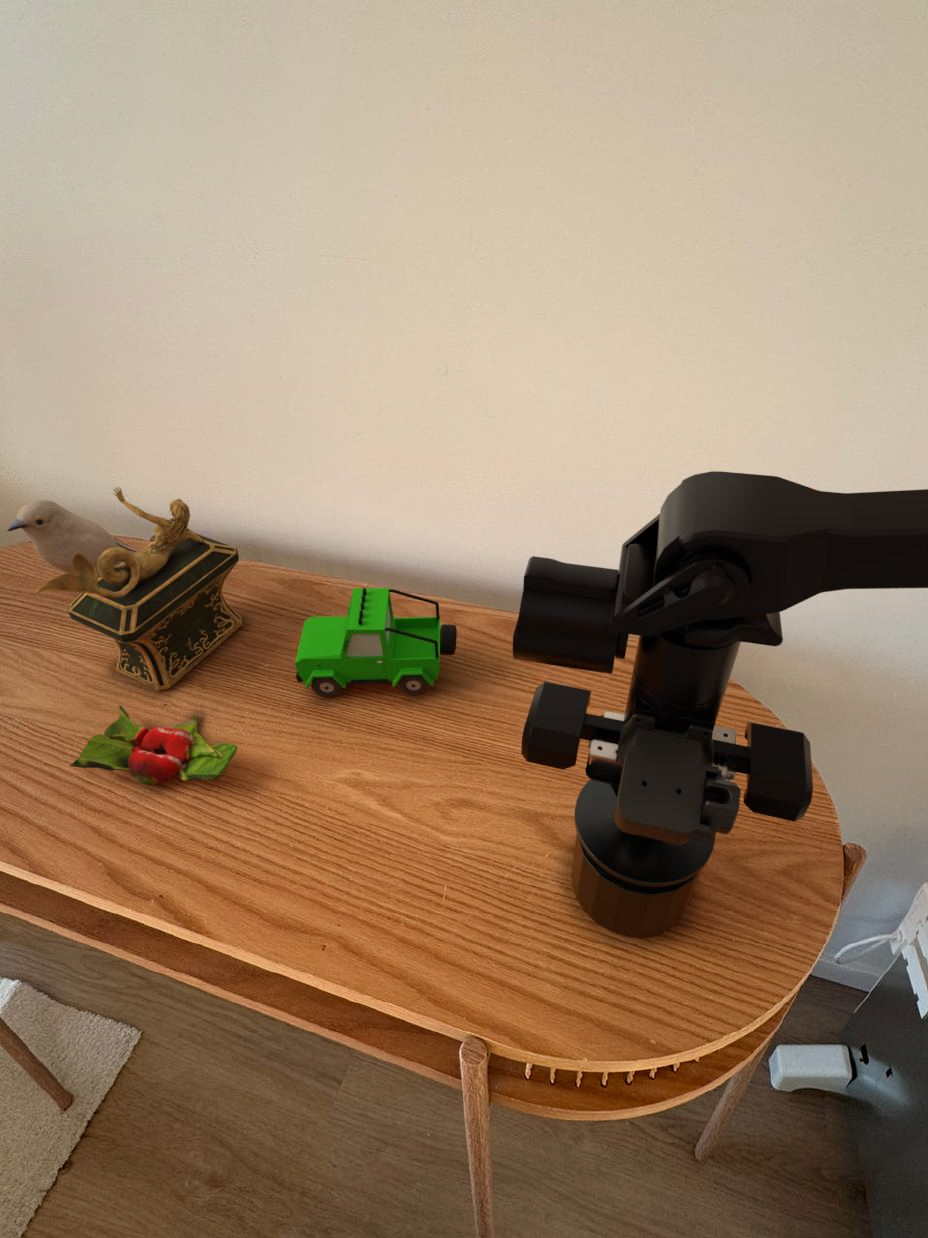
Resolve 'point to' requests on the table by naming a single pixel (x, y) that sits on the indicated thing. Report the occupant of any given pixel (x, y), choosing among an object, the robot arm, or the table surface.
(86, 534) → the bird
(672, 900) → the pot
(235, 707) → the table surface
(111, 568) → the decorative box
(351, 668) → the toy car
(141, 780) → the decorative ornament
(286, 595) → the table surface
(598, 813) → the lid
